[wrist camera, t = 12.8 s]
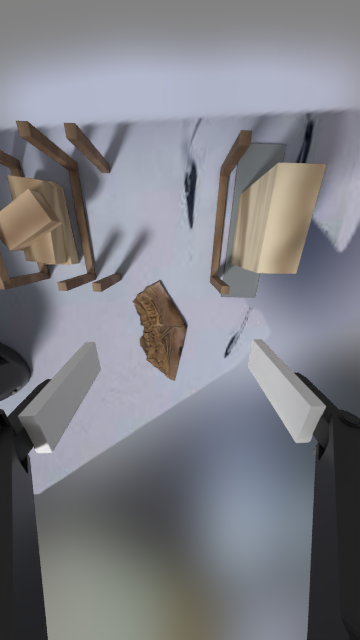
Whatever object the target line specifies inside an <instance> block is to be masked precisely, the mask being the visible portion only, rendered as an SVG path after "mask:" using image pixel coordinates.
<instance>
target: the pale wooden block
mask: <svg viewBox="0 0 360 640" xmlns="http://www.w3.org/2000/svg"><path fill="white" fill-rule="evenodd" d="M326 165H327V164H307V163H277V164H276V165H275V166H274V167H273V168H271V169H270V170H269V171H268V172H267V173H265V174H264V175H263V176H262V177H261V178H259V179H258V180H257V181H256V182H255V183H253V184H252V185H251V186H250V187H249V188H247V189H246V190H245V191H244V192H243V193H241V194H240V196H239V204H238V212H237V219H236V227H235V235H234V242H233V250H232V258H231V264H232V265H235V266H238V267H241V268H244V269H247V270H250V271H253V272H256V273H283V274H285V273H286V274H287V273H288V274H296V272H297V268H298V264H299V261H300V257H301V254H302V250H303V247H304V243H305V240H306V236H307V233H308V229H309V225H310V222H311V218H312V215H313V211H314V207H315V204H316V200H317V197H318V193H319V190H320V186H321V182H322V179H323V175H324V172H325V168H326Z"/></svg>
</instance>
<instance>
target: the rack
mask: <svg viewBox="0 0 360 640" xmlns="http://www.w3.org/2000/svg"><path fill="white" fill-rule="evenodd" d="M16 123H17V127H18V131H19V135H20V137H22V138H23V139H25V140H26V141H28V142H29V143H30V144H32V145H33V146H35V147H36V148H38V149H39V150H40V151H42V152H43V153H45V154H46V155H48V156H49V157H50V158H52V159H53V160H55V161H56V162H58V163H59V164H60V165H62V166H63V167H65V168H66V169H68V170H69V176H70V181H71V187H72V192H73V198H74V203H75V209H76V214H77V220H78V225H79V231H80V236H81V242H82V247H83V252H84V258H85V263H86V269H87V274H84V275H81V276H77V277H74V278H70V279H67V280H64V281H60V282H57V284H58V288H59V291H68V290H71V289H73V288H76V287H78V286H81V285H83V284H86V283H88V282H91V281H93V280H96V276H95V270H94V264H93V258H92V252H91V246H90V240H89V234H88V228H87V222H86V216H85V210H84V204H83V198H82V192H81V186H80V179H79V173H78V167H77V162H76V161H75V160H73V159H72V158H71V157H70V156H69V155H67V154H66V153H65V152H64V151H63V150H61V149H60V148H59V147H58V146H56V145H55V144H54V143H53V142H52V141H50V140H49V139H48V138H47V137H46V136H44V135H43V134H42V133H41V132H40V131H38V130H37V129H36V128H35V127H34V126H32V125H31V124H30V123H29V122H28V121H16ZM64 127H65V132H66V138H67V139H68V140H69V141H70V142H71V143H72V144H73V145H74V146H75V147H76V148H77V149H78V150H79V151H80V152H81V153H82V154H83V155H84V156H86V157H87V158H88V159H89V160H90V161H91V162H92V163H93V164H94V165H95V166H96V167H97V168H98V169H99V170H100V171H101V172H102V173H110V171H109V163H108V162H107V161H106V160H105V158H104V157H103V156H102V155H101V154H100V152H99V151H98V150H97V149H96V148H95V146H94V145H93V144H92V143H91V142H90V140H89V139H88V138H87V137H86V136H85V134H84V133H83V132H82V131H81V130H80V128H79V127H78V126H77V125H76V124H75V123H64ZM251 135H252V131H245V130H241V132H240V133H239V135H238V137H237V139H236V141H235V143H234V144H233V146H232V148H231V150H230V152H229V154H228V155H227V157H226V159H225V161H224V163H223V165H222V166H221V171H220V182H219V192H218V203H217V213H216V224H215V235H214V245H213V256H212V266H211V277H210V283H211V284H212V285H213V286H214V287H215V288H216V289H217V290H218V291H219V293H220V294H229V291H230V286H229V285H227V284H226V283H225V282H224V281H222V280H221V279H220V278H218V277H217V274H218V265H219V256H220V247H221V238H222V228H223V219H224V210H225V201H226V192H227V183H228V176H229V174H230V173H231V171H232V170H233V169H234V167H235V166H236V164H237V163H238V162H239V160H240V159H241V157H242V156H243V155H244V153H245V152H246V150H247V149H248V148H249V146H250V142H251ZM0 164H3V165H5V166H7V167H9V168H10V170H11V174H12V176H17V177H23V175H22V172H21V168H20V164H19V161H18V160H17V159H15V158H14V157H12V156H10V155H8V154H6V153H4V152H3V151H1V150H0ZM37 264H38V267H39V271H40V272H39V273H34V274H28V275H23V276H18V277H12V278H9V276H8V274H7V271H6V268H5V265H4V263H3V260H2V257H1V254H0V289H9V288H13V287H17V286H21V285H25V284H29V283H33V282H37V281H41V280H45V279H49V278H50V276H49V272H48V268H47V265H46V264H43V263H42V262H37ZM120 280H121V274H113V275H110V276H108V277H106V278H103V279H101V280H99V281H96V282H94V283H92V286H93V291H98V292H102V291H103V290H105V289H107V288H109V287H110V286H112V285H114V284H115V283H117V282H119V281H120Z"/></svg>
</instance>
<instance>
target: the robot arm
mask: <svg viewBox="0 0 360 640" xmlns="http://www.w3.org/2000/svg"><path fill="white" fill-rule="evenodd" d="M248 367H249V369H250V371H251V372H252V374H253V375H254V377H255V379H256V380H257V382H258V383H259V385H260V387H261V388H262V390H263V391H264V393H265V394H266V396H267V397H268V399H269V401H270V402H271V404H272V405H273V407H274V409H275V410H276V412H277V413H278V415H279V416H280V418H281V420H282V421H283V423H284V425H285V426H286V428H287V429H288V431H289V432H290V434H291V436H292V437H293V439H294V440H295V442H296V443H304V442H310V440H311V438H312V436H314V437H315V438H316V440H317V441H318V443H317V445H316V447H315V449H314V451H313V453H312V455H313V456H315V454H316V461H315V483H314V505H313V527H312V549H311V570H310V592H309V593H310V594H309V614H308V633H307V640H360V418H358V417H357V416H355V415H354V414H352V413H350V412H347V411H344V410H339V409H338V408H337V407H336V406H335V405H334V404H333V403H332V402H331V401H330V400H329V399H328V398H327V397H326V396H325V395H324V394H323V393H321V391H320V390H318V389H317V388H316V387H315V386H314V385H313V384H312V383H311V382H310V381H309V380H308V379H307V378H306V377H304V376H303V375H301V374H299V373H294V372H292V370H291V369H290V368H289V367H288V366H287V365H286V364H285V363H284V362H283V361H282V360H281V359H280V358H279V357H278V356H277V355H276V354H275V353H274V352H273V351H272V350H271V349H270V348H269V347H268V345H267V344H266V343H265V342H264V341H263V340H262V339H260V340H253V341H252V346H251V352H250V357H249V362H248ZM100 370H101V368H100V363H99V358H98V354H97V349H96V345H95V342H85V343H84V345H83V346H82V347H81V348H80V349H79V350H78V351H77V352H76V353H75V354H74V355H73V357H72V358H71V359H70V360H69V361H68V362H67V363H66V364H65V365H64V366H63V367H62V369H61V370H60V371H59V372H58V373H57V374H56V375H55V376H54V377H53V378H52V379H47V380H45V381H44V382H42V383H41V384H39V385H38V386H37V387H36V388H35V389H34V390H33V391H32V393H30V394H29V395H28V396H27V397H26V399H24V400H23V401H22V402H21V403H20V404H19V405H18V406H17V408H16V409H15V410H14V411H13V412H12V413H11V414H10V415H9V416H8V417H7V416H6V414H5V412H4V410H2V409H0V640H48V636H47V626H46V616H45V607H44V606H45V605H44V595H43V586H42V576H41V566H40V556H39V545H38V535H37V525H36V515H35V505H34V494H33V484H32V474H31V464H30V457H29V455H28V453H29V452H30V450H31V449H32V448H33V446H34V448H35V450H36V452H37V453H52V452H53V450H54V449H55V447H56V445H57V444H58V442H59V440H60V439H61V437H62V435H63V433H64V432H65V430H66V428H67V427H68V425H69V423H70V421H71V420H72V418H73V416H74V415H75V413H76V411H77V410H78V408H79V406H80V404H81V403H82V401H83V399H84V398H85V396H86V394H87V392H88V391H89V389H90V387H91V386H92V384H93V382H94V381H95V379H96V377H97V375H98V374H99V372H100ZM29 378H30V372H29V368H28V366H27V364H26V362H25V361H24V360H23V359H22V357H21V356H20V355H19V354H17V353H16V352H15V351H13V350H12V349H10V348H9V347H7V346H5V345H2V344H0V401H2V400H4V399H6V398H8V397H10V396H12V395H14V394H15V393H17V392H18V391H19V390H21V389H22V388H23V387H24V386H25V385H26V384H27V383H28V381H29Z"/></svg>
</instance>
